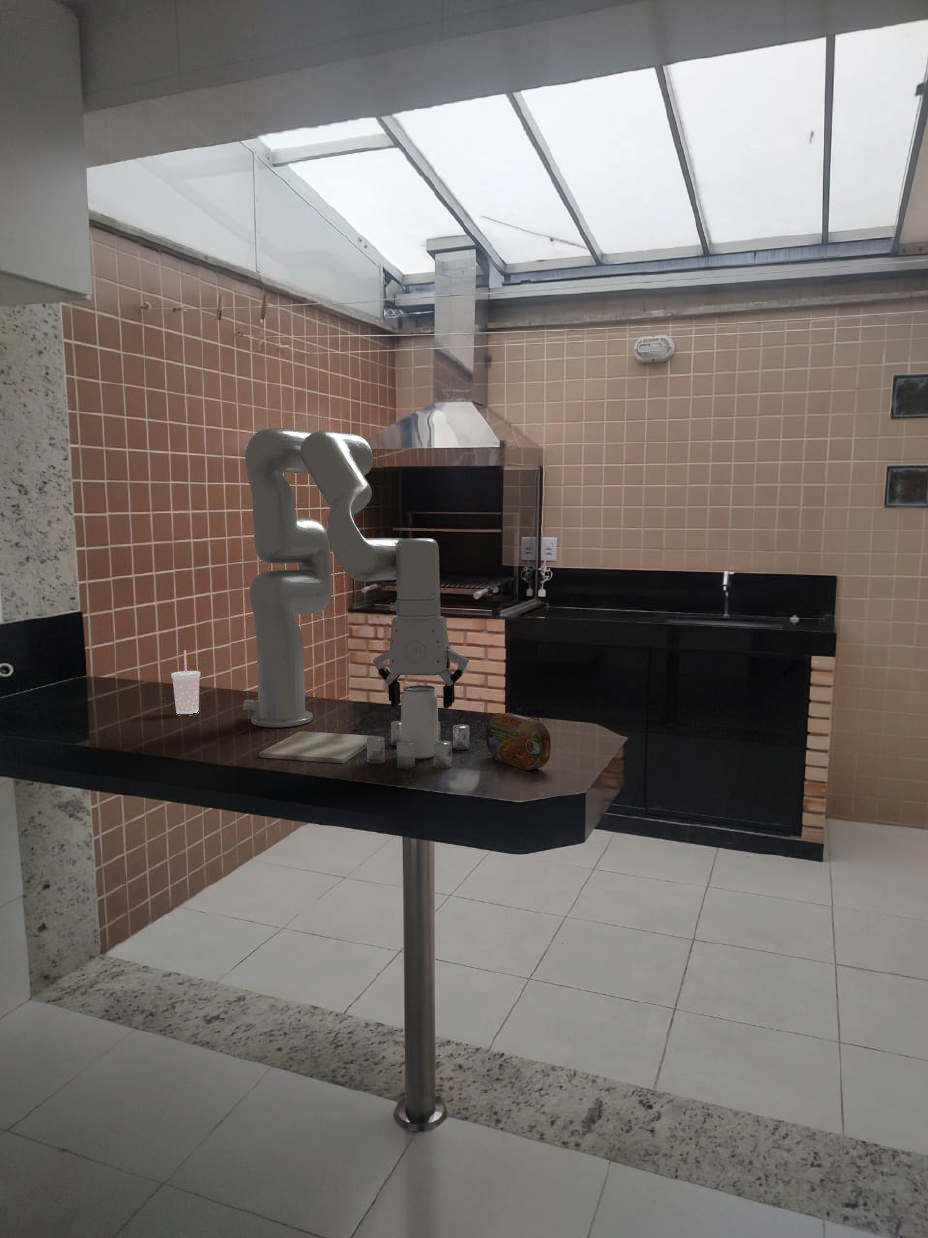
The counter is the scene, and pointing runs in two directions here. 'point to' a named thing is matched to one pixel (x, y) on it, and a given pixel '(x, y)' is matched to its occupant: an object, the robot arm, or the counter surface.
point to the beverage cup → (186, 690)
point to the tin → (518, 741)
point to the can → (420, 719)
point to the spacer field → (408, 747)
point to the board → (317, 747)
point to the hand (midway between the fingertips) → (421, 706)
